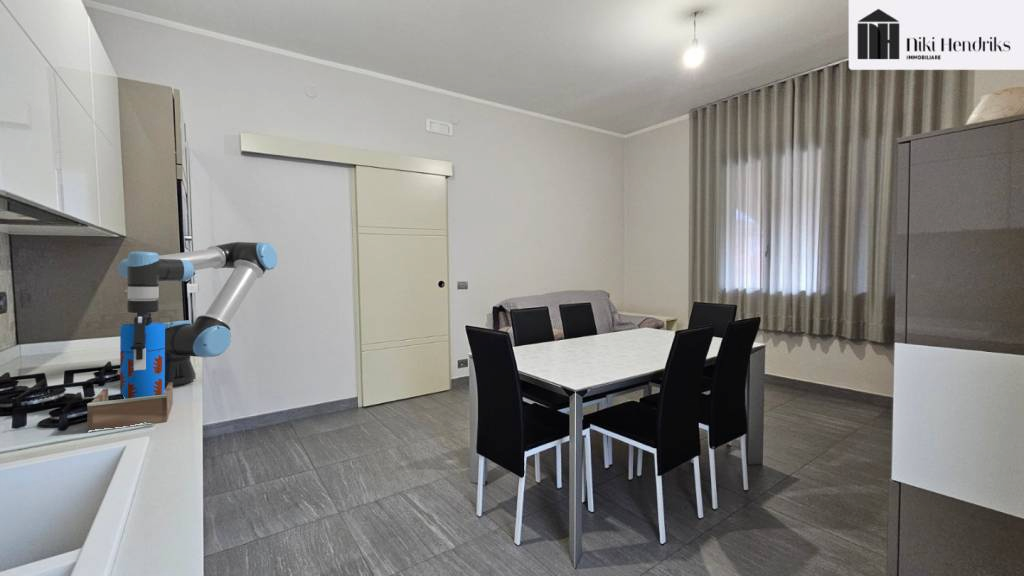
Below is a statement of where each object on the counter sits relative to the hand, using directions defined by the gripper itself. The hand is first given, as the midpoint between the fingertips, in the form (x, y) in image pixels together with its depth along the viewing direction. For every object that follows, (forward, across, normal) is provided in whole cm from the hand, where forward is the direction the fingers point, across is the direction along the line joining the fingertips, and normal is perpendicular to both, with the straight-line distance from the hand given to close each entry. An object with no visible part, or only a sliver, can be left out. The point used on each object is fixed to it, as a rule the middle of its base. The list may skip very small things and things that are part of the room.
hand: (143, 365), depth 135 cm
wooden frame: (+12, +17, 0) cm, 21 cm away
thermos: (+12, 0, 0) cm, 12 cm away
